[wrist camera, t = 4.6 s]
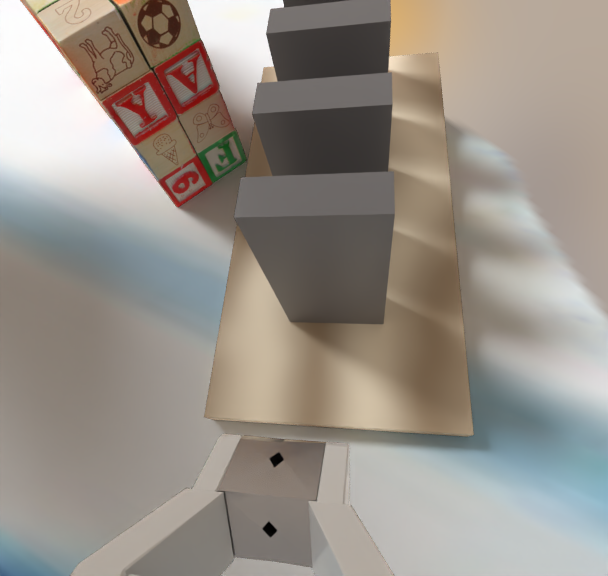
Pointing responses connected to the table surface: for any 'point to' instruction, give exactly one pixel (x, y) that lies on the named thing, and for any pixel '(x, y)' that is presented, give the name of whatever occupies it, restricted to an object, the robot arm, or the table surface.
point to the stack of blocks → (150, 84)
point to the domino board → (361, 337)
